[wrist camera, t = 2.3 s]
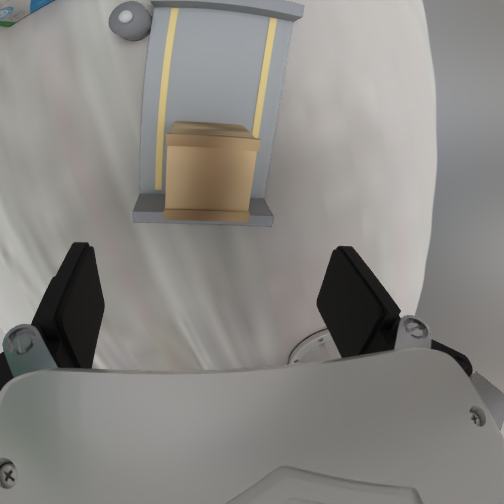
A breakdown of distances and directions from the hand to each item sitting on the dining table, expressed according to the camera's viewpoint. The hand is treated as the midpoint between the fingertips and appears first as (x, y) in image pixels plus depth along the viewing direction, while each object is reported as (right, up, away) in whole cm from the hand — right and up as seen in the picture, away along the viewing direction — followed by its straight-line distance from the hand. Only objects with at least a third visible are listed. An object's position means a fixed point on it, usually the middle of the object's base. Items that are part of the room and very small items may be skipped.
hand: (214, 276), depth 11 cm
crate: (-3, +10, +15) cm, 18 cm away
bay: (-4, +14, +13) cm, 19 cm away
